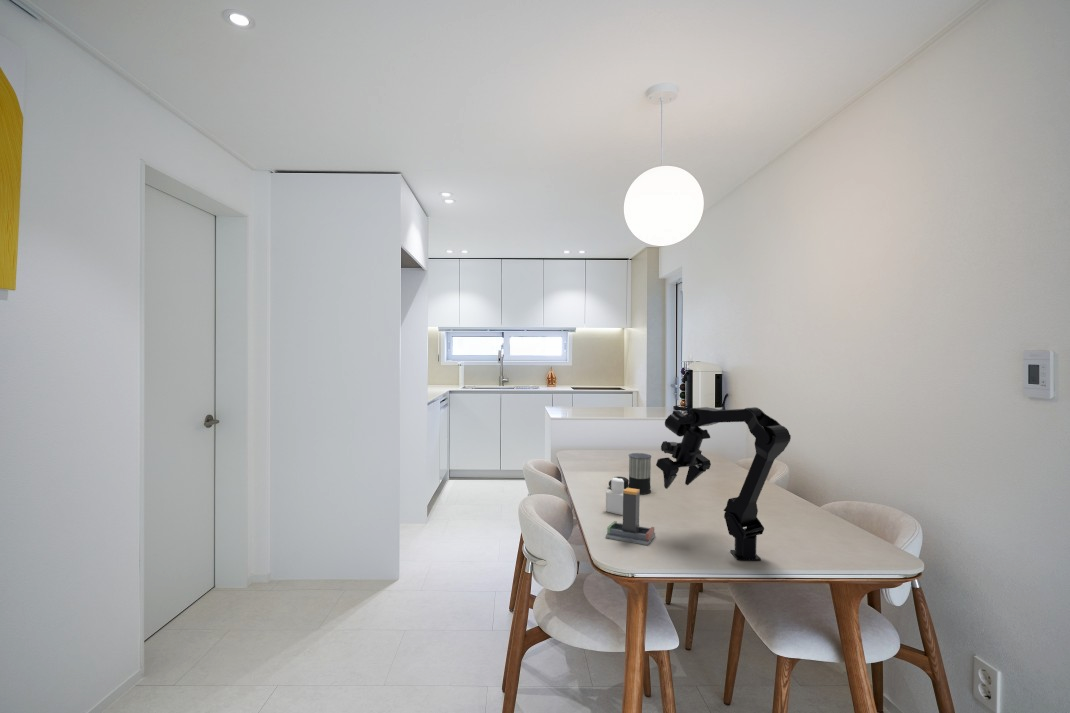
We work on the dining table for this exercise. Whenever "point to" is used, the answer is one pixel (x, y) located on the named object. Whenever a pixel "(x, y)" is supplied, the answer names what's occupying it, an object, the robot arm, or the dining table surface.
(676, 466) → the robot arm
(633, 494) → the block
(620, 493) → the medicine bottle
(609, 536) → the grey rectangular tray
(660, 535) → the dining table surface
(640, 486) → the milk frother
